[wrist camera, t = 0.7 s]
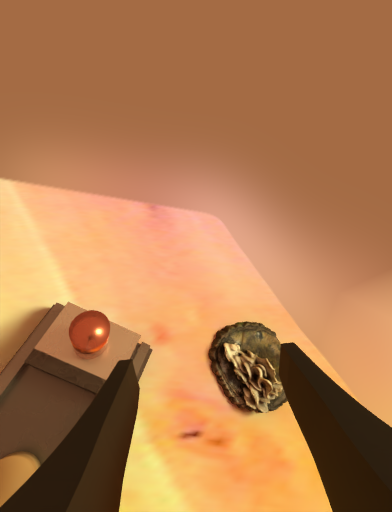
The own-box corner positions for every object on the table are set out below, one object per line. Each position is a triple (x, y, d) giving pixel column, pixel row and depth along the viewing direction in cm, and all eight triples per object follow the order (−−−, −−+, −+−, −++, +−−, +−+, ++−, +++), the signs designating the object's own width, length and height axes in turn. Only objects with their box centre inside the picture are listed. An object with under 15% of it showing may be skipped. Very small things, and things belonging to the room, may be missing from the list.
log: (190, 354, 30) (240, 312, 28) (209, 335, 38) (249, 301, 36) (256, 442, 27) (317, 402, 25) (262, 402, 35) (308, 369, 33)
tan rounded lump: (17, 527, 18) (5, 546, 16) (-35, 508, 18) (-56, 524, 15) (52, 461, 20) (47, 468, 18) (7, 443, 20) (-5, 448, 18)
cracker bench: (27, 631, 17) (-2, 727, 12) (-148, 574, 16) (-261, 652, 11) (150, 351, 29) (162, 340, 24) (55, 307, 28) (46, 286, 23)
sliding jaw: (108, 399, 24) (113, 397, 17) (31, 366, 23) (6, 351, 17) (136, 341, 27) (149, 322, 21) (70, 311, 27) (62, 281, 20)
